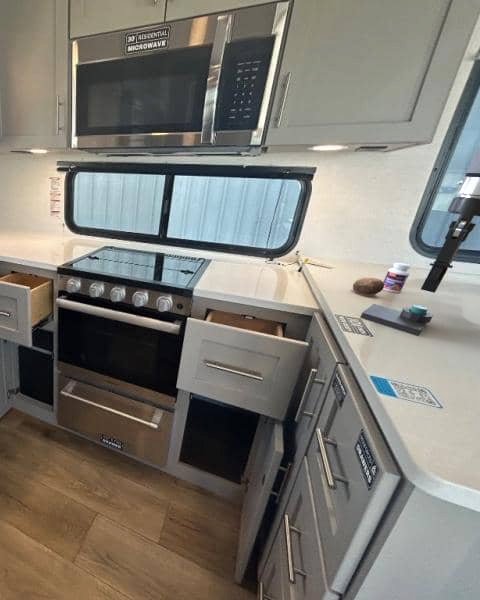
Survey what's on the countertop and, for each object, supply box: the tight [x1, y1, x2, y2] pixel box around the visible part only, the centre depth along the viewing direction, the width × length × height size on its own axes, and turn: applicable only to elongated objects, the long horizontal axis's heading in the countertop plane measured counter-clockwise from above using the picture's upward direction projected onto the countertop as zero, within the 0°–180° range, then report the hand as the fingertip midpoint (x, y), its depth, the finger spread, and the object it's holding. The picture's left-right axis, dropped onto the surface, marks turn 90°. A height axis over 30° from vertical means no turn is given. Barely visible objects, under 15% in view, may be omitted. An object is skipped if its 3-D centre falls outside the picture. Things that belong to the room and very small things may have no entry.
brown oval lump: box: [352, 277, 384, 297], centre depth 109 cm, size 8×8×6 cm
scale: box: [360, 303, 434, 337], centre depth 90 cm, size 12×12×4 cm
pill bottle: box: [382, 261, 411, 294], centre depth 114 cm, size 5×5×10 cm
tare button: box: [410, 304, 429, 315], centre depth 89 cm, size 3×3×2 cm
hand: (427, 290), depth 86 cm, fingers closed
